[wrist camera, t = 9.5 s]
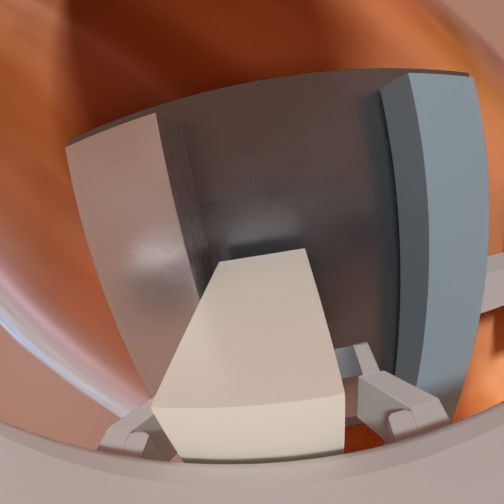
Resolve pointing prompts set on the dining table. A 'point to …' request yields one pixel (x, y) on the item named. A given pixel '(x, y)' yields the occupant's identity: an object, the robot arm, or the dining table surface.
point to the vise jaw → (440, 229)
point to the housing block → (255, 369)
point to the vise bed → (246, 205)
